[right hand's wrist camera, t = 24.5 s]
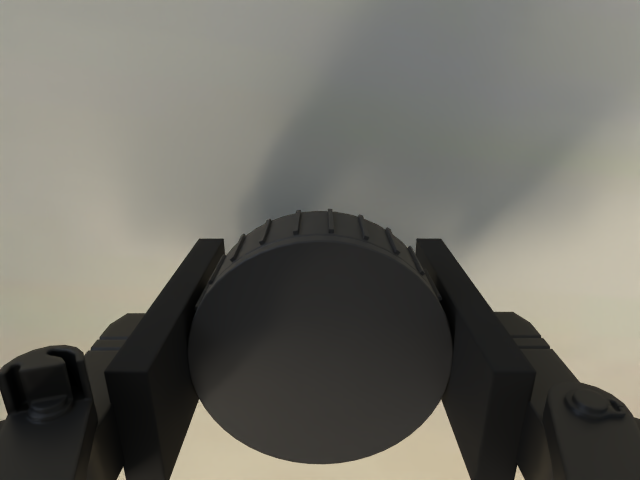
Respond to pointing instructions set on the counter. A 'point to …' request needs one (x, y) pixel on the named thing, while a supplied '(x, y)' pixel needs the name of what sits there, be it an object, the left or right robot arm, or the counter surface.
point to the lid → (320, 340)
